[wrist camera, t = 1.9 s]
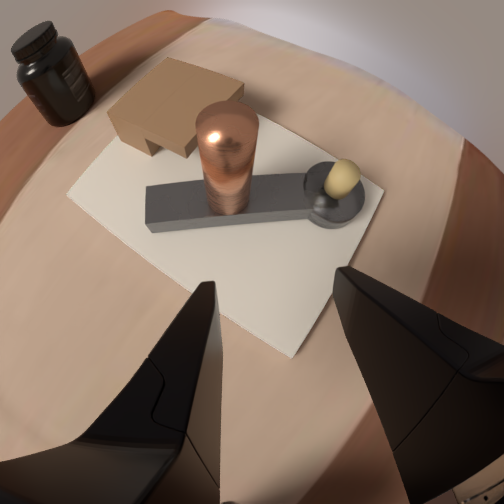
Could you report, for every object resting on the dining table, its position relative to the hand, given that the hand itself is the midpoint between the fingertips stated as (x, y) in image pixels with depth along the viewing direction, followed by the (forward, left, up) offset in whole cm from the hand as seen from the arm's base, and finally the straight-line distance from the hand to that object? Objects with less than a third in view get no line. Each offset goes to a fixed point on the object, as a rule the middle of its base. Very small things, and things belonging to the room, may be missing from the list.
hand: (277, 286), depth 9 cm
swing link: (+4, -7, -12) cm, 15 cm away
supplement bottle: (+30, -7, -14) cm, 33 cm away
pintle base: (+7, -7, -14) cm, 17 cm away
